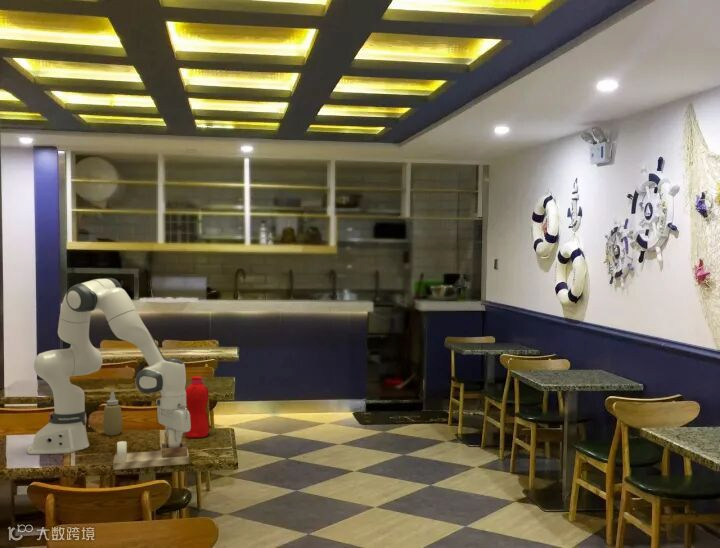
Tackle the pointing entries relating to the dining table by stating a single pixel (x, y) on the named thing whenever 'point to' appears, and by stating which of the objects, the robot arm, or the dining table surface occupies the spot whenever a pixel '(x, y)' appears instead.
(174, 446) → the loose leg
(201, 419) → the water bottle
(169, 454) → the wooden board with socket
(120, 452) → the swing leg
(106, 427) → the squeeze bottle
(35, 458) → the dining table surface
